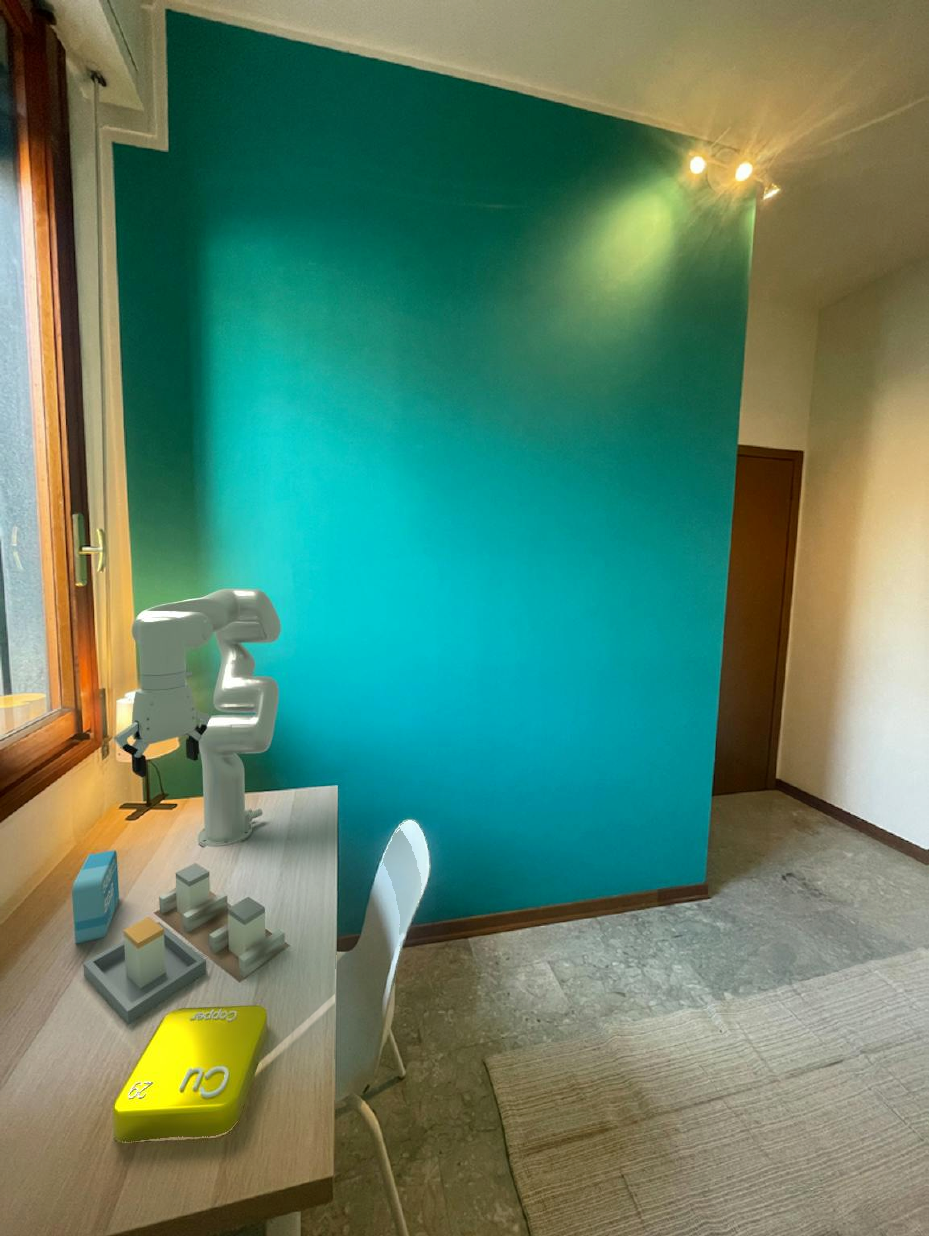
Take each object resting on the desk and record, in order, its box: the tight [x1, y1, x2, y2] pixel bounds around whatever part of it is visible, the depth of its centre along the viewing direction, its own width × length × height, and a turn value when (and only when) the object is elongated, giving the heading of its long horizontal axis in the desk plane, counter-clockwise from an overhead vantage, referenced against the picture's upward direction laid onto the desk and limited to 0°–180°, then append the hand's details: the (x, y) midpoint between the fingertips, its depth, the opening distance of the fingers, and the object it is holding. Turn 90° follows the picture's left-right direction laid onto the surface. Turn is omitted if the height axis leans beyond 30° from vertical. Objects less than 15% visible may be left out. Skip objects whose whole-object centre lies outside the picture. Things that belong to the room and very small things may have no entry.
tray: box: [82, 921, 207, 1025], centre depth 85 cm, size 12×16×3 cm
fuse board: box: [153, 887, 291, 983], centre depth 96 cm, size 10×29×4 cm, turn 56°
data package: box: [71, 849, 120, 944], centre depth 97 cm, size 12×4×12 cm, turn 24°
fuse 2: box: [228, 896, 266, 957], centre depth 91 cm, size 4×5×8 cm
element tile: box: [111, 1004, 268, 1142], centre depth 69 cm, size 15×15×5 cm
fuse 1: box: [175, 862, 211, 914], centre depth 100 cm, size 4×5×8 cm
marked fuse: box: [123, 916, 166, 988], centre depth 85 cm, size 4×5×8 cm
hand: (167, 766), depth 98 cm, fingers open, 9 cm apart
